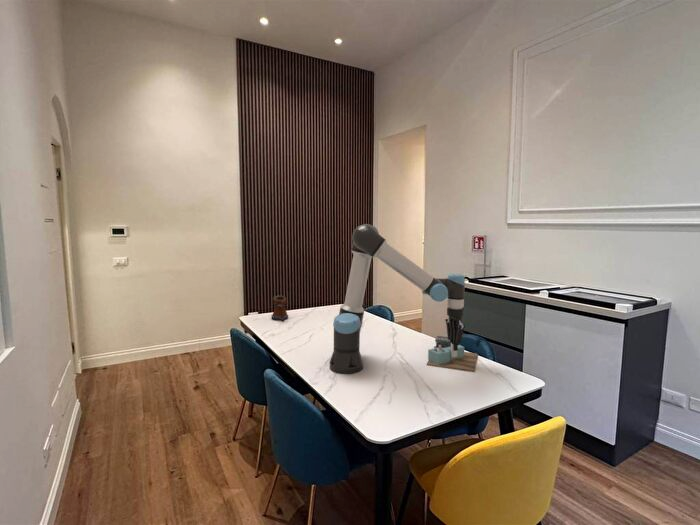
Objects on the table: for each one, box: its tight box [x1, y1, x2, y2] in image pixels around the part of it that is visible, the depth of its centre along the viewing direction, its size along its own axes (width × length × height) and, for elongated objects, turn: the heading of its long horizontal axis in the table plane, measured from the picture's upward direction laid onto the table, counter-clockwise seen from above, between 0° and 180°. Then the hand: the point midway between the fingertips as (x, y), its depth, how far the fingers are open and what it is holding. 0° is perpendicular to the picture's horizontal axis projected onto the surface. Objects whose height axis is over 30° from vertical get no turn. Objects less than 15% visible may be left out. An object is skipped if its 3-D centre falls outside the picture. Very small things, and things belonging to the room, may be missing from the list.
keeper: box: [433, 335, 451, 349], centre depth 191 cm, size 8×8×7 cm
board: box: [426, 351, 478, 373], centre depth 183 cm, size 24×21×1 cm
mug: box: [270, 294, 289, 322], centre depth 252 cm, size 18×12×15 cm, turn 24°
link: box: [427, 344, 465, 365], centre depth 182 cm, size 18×7×5 cm, turn 119°
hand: (453, 356), depth 180 cm, fingers closed
